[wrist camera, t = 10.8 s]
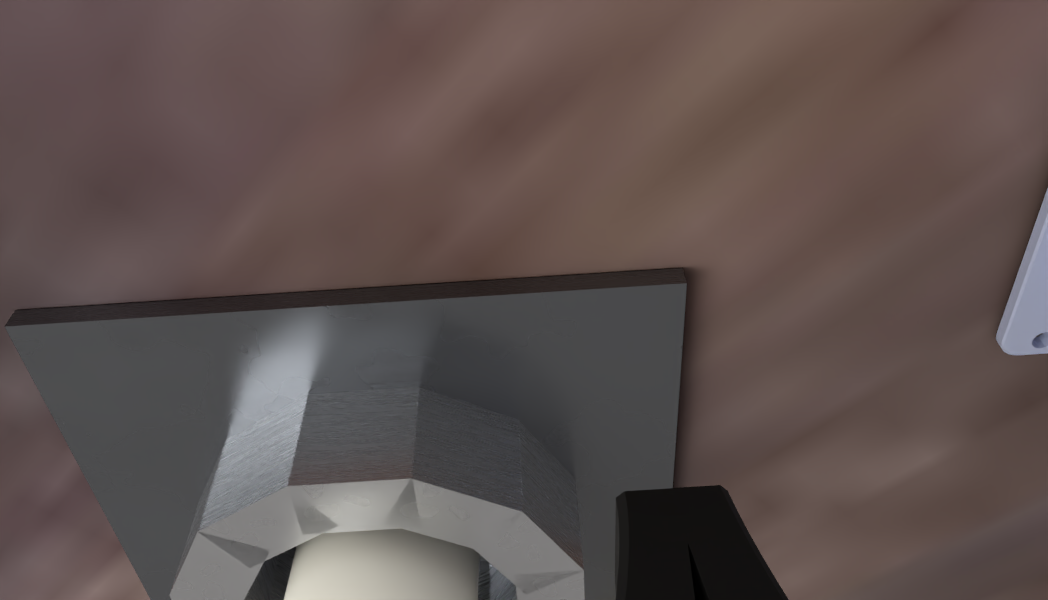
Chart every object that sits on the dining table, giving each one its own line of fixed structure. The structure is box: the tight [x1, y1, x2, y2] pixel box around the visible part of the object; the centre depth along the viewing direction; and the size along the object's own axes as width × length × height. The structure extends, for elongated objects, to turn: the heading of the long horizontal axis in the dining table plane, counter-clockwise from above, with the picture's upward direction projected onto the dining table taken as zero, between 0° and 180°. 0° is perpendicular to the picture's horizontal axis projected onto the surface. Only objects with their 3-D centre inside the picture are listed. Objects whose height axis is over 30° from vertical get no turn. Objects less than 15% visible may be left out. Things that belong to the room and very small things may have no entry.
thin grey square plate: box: [5, 268, 687, 600], centre depth 25 cm, size 16×16×4 cm
